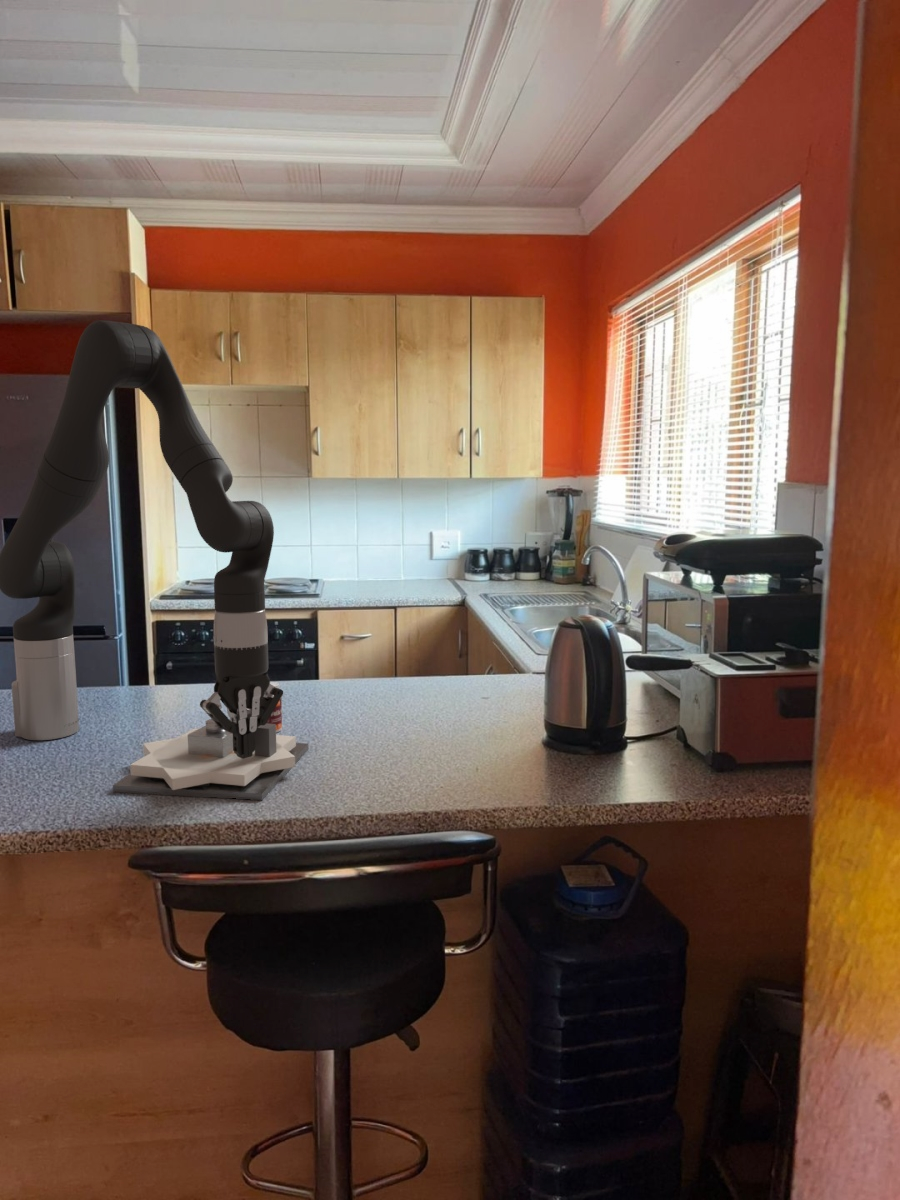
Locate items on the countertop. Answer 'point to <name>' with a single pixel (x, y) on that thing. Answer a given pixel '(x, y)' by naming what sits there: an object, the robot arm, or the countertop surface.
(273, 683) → the pill bottle
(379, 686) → the countertop surface
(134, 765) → the turntable
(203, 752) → the cover
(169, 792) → the base
